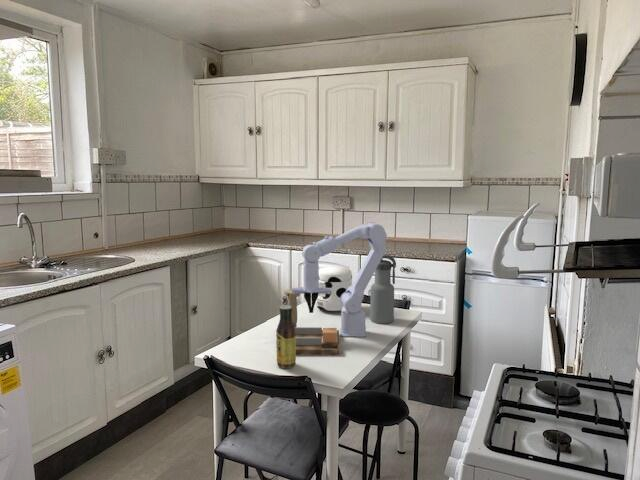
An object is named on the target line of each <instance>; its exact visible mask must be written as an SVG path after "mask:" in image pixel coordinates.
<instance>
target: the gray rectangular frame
mask: <svg viewBox="0 0 640 480" xmlns="http://www.w3.org/2000/svg"><path fill="white" fill-rule="evenodd" d="M322 330H323V328H322V327H320V326H318V327H316V326H315V327H312V326H311V327H309V326H307V327H306V326H305V327H303V326H301V327H300V326H297V327H295V334H319V335H322ZM296 345H321V337H296Z"/></svg>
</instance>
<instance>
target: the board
mask: <svg viewBox="0 0 640 480" xmlns="http://www.w3.org/2000/svg"><path fill="white" fill-rule="evenodd" d="M296 337H321V345H296V356H340V355H341V345H340V329H337V342H323V329H322V335H319V334H296Z"/></svg>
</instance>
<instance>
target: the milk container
mask: <svg viewBox="0 0 640 480" xmlns="http://www.w3.org/2000/svg"><path fill="white" fill-rule="evenodd" d="M352 284H353V273H352V269H350V268H346V267H339V266H338V267H337V266H330V267H322V268H319V287H323V288H331V293H330V294H318V298H317V300H316V302H315V306H316V308H317V309H319V310H321V311H324V312H327V313H341V309H342V307H343V305H342V304H341V301H340V298H341V295H342V294H343V293H344V292H346V291H347V289H348V287H350V286H351V285H352Z"/></svg>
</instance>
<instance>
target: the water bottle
mask: <svg viewBox="0 0 640 480" xmlns="http://www.w3.org/2000/svg"><path fill="white" fill-rule="evenodd" d="M386 259H388V260H386ZM396 267H397V262H396V260H395V258H394V257H393V256H392V255H390V254H386V253H384V255H383V257H382V259H381V261H380V263H379V265H378V266H377V268H376V270H375V272H374V283H372V284H371V286H370V309H369V311H370V313H369V318H370V321H371V322H373V323H375V324H380V325H386V324H391V323H392V322H394V319H395V318H394V315H395V313H394V312H395V286H394V285H395V283H396V282H395V281H396V276H395V275H396V272H395V271H396V270H395V268H396ZM391 272H392V275H391ZM391 276H392V283H391Z"/></svg>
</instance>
